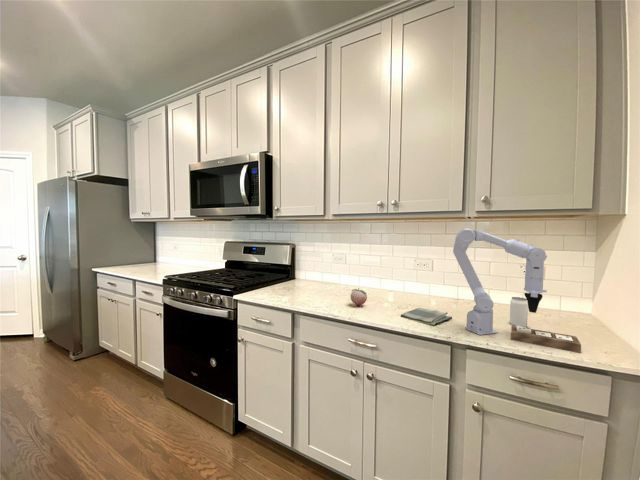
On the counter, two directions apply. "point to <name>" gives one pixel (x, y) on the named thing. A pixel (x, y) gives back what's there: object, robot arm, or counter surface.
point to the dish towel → (427, 316)
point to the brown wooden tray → (546, 340)
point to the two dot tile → (563, 337)
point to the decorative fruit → (358, 297)
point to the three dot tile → (523, 329)
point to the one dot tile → (543, 334)
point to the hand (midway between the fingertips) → (532, 312)
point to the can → (518, 311)
